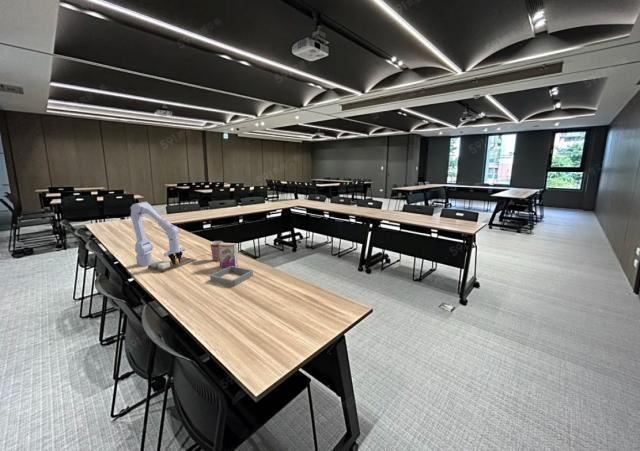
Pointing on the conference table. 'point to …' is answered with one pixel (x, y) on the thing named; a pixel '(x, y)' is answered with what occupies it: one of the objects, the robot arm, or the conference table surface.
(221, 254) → the candy bar box
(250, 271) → the desk tray rim
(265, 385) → the conference table surface
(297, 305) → the conference table surface
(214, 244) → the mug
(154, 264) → the grey block
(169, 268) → the lane rack
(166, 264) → the orange mallet
